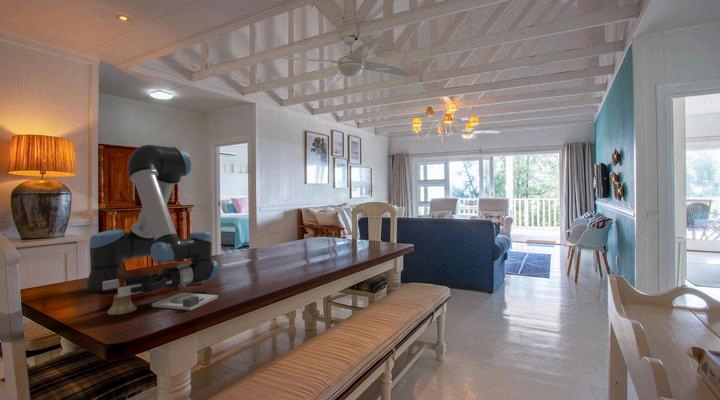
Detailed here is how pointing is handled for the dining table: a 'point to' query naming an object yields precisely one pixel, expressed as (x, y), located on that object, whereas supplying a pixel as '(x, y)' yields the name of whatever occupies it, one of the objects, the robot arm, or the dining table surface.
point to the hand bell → (123, 302)
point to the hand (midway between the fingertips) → (110, 289)
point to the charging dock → (180, 306)
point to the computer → (198, 283)
